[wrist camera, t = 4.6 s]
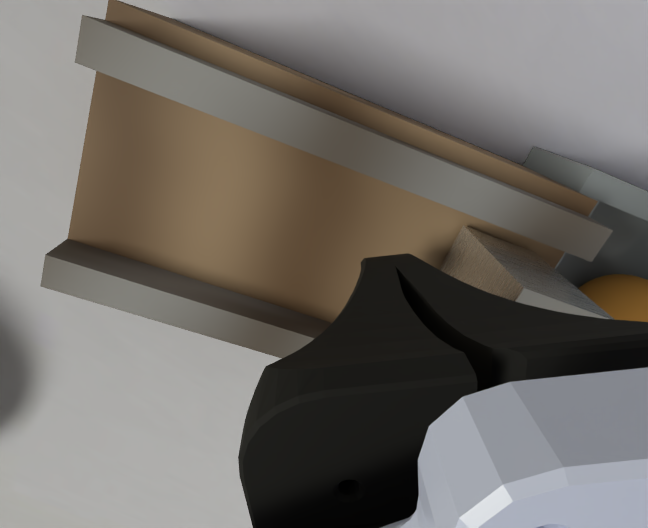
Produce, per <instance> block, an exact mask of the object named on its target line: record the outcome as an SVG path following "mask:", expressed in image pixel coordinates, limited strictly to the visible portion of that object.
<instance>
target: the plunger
mask: <svg viewBox="0 0 648 528" xmlns="http://www.w3.org/2000/svg"><path fill="white" fill-rule="evenodd" d="M440 270H441V271H442V272H444V273H446V274H448V275H450V276H452V277H454V278H456V279H458V280H460V281H462V282H464V283H467V284H469V285H471V286H473V287H476V288H478V289H480V290H483V291H486V292H488V293H491V294H494V295H497V296H500V297H503V298H506V299H509V300H512V301H515V302H519V303H523V304H526V305H531V306H535V307H539V308H543V309H548V310H552V311H558V312H563V313H569V314H575V315H582V316H589V317H596V318H603V319H614V318H612V317H611V316H610V315H609V314H608V313H606V312H605V311H604V310H603V309H602V308H600V307H599V306H598V305H597V304H596V303H594V302H593V301H592V300H591V299H590V298H588V297H587V296H586V295H585V294H584V293H582V292H581V291H580V290H579V289H578V288H576V287H575V286H574V285H573V284H572V283H570V282H569V281H568V280H567V279H566V278H564V277H563V276H562V275H561V274H560V273H558V272H557V271H556V270H555V269H554V268H552V267H551V266H550V265H549V264H548V263H546V262H545V261H544V260H543V259H542V258H541V257H539V256H538V255H537V254H536V253H535V252H533V251H530V250H527V249H525V248H522V247H520V246H517V245H514V244H512V243H509V242H506V241H504V240H501V239H499V238H496V237H493V236H491V235H488V234H485V233H483V232H480V231H478V230H475V229H472V228H470V227H467V226H464V225H463V227H462V229H461V231H460V232H459V234H458V236H457V238H456V240H455V242H454V244H453V245H452V247H451V249H450V251H449V253H448V255H447V257H446V258H445V260H444V262H443V264H442V266H441V268H440ZM614 320H615V319H614Z"/></svg>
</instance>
